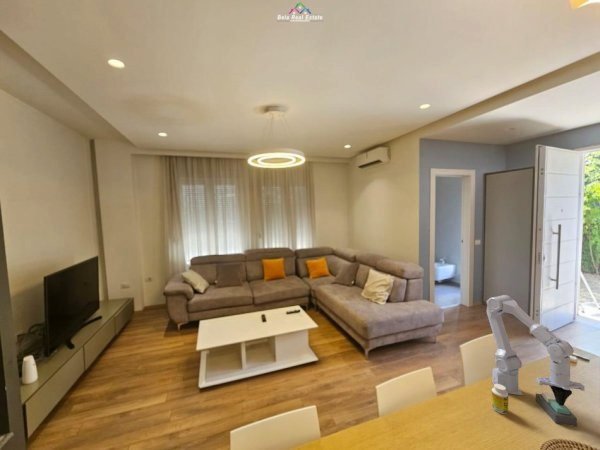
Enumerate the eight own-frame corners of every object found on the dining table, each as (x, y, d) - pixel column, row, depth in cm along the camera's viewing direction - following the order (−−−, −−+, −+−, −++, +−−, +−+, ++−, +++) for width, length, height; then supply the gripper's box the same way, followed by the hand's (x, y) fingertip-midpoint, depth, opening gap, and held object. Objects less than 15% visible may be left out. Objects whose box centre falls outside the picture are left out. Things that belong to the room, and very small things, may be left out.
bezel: (555, 420, 100) (555, 414, 100) (535, 398, 112) (535, 393, 112) (576, 424, 98) (577, 418, 98) (554, 401, 110) (554, 396, 110)
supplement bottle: (505, 417, 104) (505, 392, 104) (489, 408, 109) (489, 385, 108) (510, 410, 107) (510, 387, 107) (494, 403, 112) (494, 380, 111)
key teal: (557, 412, 101) (557, 408, 101) (550, 405, 105) (550, 401, 105) (569, 414, 100) (569, 409, 100) (562, 407, 104) (562, 402, 104)
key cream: (548, 403, 107) (548, 398, 106) (541, 396, 110) (541, 392, 110) (559, 404, 105) (559, 400, 105) (553, 398, 109) (553, 393, 109)
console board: (555, 423, 100) (555, 420, 100) (535, 400, 112) (535, 398, 112) (576, 426, 98) (576, 424, 98) (554, 403, 110) (554, 401, 110)
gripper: (544, 374, 100) (544, 407, 101) (591, 380, 96) (590, 414, 97) (533, 364, 107) (533, 395, 107) (576, 369, 103) (576, 401, 103)
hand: (559, 403), depth 103 cm, fingers closed
